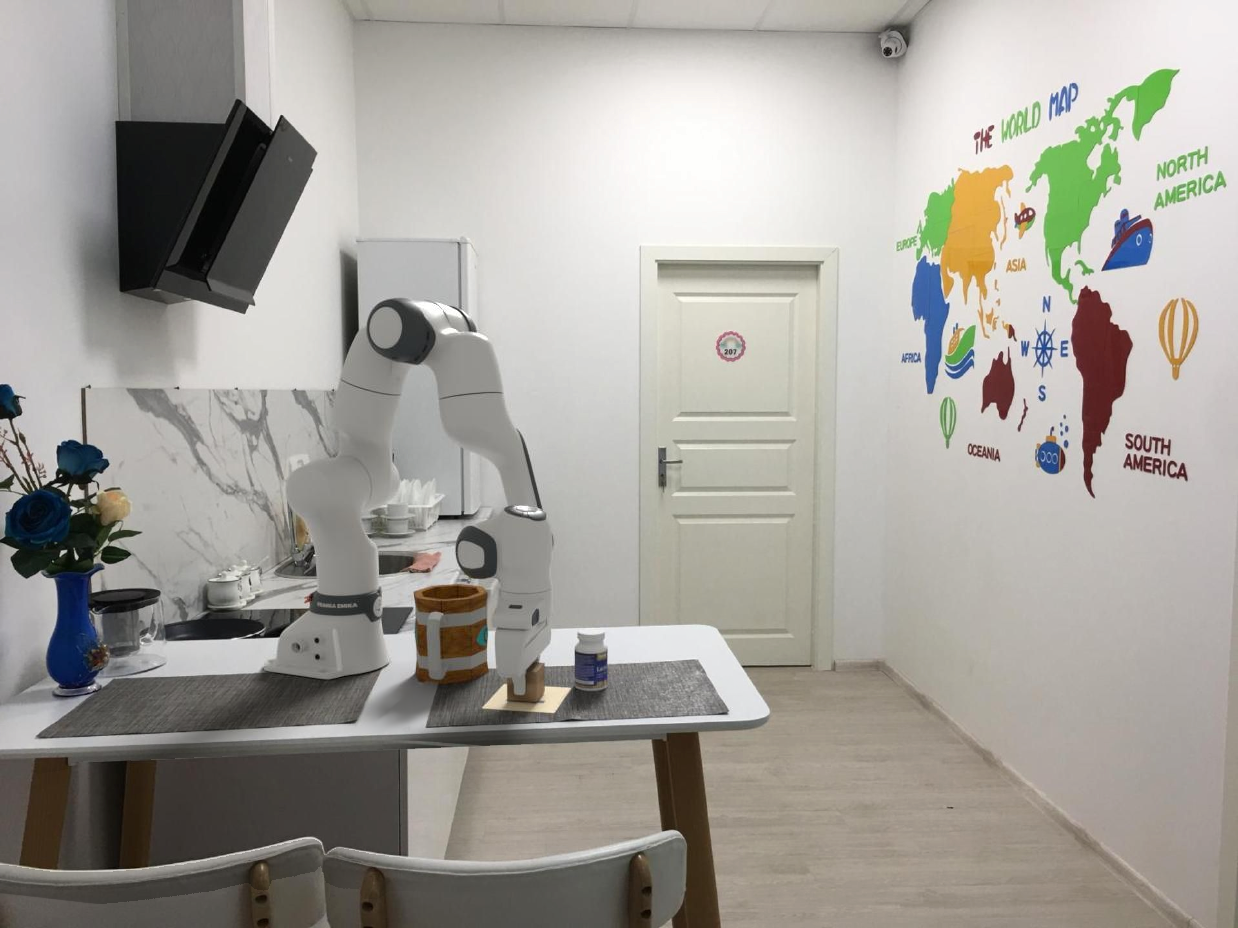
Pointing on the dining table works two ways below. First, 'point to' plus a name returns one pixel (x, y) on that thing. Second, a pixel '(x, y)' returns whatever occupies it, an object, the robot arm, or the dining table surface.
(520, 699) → the walnut block
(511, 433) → the robot arm
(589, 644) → the pill bottle
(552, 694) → the letter card
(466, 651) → the mug
